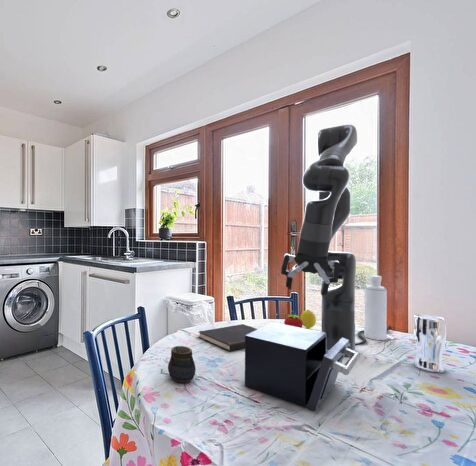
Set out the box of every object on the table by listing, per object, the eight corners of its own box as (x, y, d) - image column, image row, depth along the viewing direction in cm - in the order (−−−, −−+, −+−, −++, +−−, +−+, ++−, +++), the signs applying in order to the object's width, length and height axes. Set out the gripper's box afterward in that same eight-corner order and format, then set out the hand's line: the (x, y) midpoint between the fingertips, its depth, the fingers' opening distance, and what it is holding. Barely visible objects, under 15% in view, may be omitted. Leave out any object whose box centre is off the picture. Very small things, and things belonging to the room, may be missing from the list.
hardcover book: (198, 337, 118) (198, 331, 118) (242, 329, 129) (242, 324, 129) (230, 351, 104) (230, 344, 104) (277, 341, 114) (277, 335, 114)
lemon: (318, 331, 127) (318, 311, 127) (303, 330, 128) (303, 310, 128) (312, 327, 133) (312, 308, 133) (298, 326, 134) (298, 307, 134)
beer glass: (406, 363, 96) (406, 314, 96) (427, 363, 96) (427, 313, 96) (430, 373, 89) (430, 320, 89) (453, 373, 89) (453, 320, 89)
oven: (326, 381, 83) (326, 332, 83) (305, 408, 71) (305, 350, 71) (271, 365, 93) (271, 321, 93) (244, 386, 80) (245, 335, 81)
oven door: (348, 391, 80) (364, 346, 78) (331, 421, 67) (349, 368, 65) (327, 380, 83) (342, 337, 81) (306, 407, 70) (323, 355, 68)
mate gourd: (197, 375, 86) (197, 339, 86) (193, 388, 79) (193, 348, 79) (170, 371, 89) (171, 336, 89) (165, 383, 82) (165, 345, 82)
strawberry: (306, 337, 120) (306, 311, 120) (295, 340, 115) (295, 313, 116) (291, 333, 125) (291, 307, 125) (280, 336, 120) (280, 310, 120)
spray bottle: (368, 339, 118) (369, 272, 118) (361, 333, 124) (361, 270, 124) (390, 341, 116) (390, 273, 116) (381, 335, 122) (381, 271, 122)
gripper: (342, 238, 89) (331, 292, 93) (286, 232, 95) (278, 282, 99) (347, 244, 83) (336, 301, 86) (287, 237, 88) (278, 291, 92)
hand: (305, 291), depth 92 cm, fingers open, 8 cm apart
